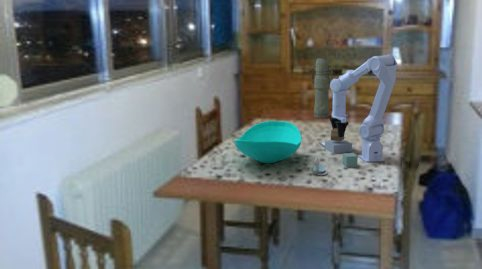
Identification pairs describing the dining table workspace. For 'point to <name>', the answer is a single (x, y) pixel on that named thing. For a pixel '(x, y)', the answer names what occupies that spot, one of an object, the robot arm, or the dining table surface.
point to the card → (322, 144)
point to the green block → (350, 160)
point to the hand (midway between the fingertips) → (338, 135)
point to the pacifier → (319, 168)
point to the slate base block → (338, 146)
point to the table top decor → (270, 141)
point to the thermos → (321, 87)
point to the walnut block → (335, 135)
